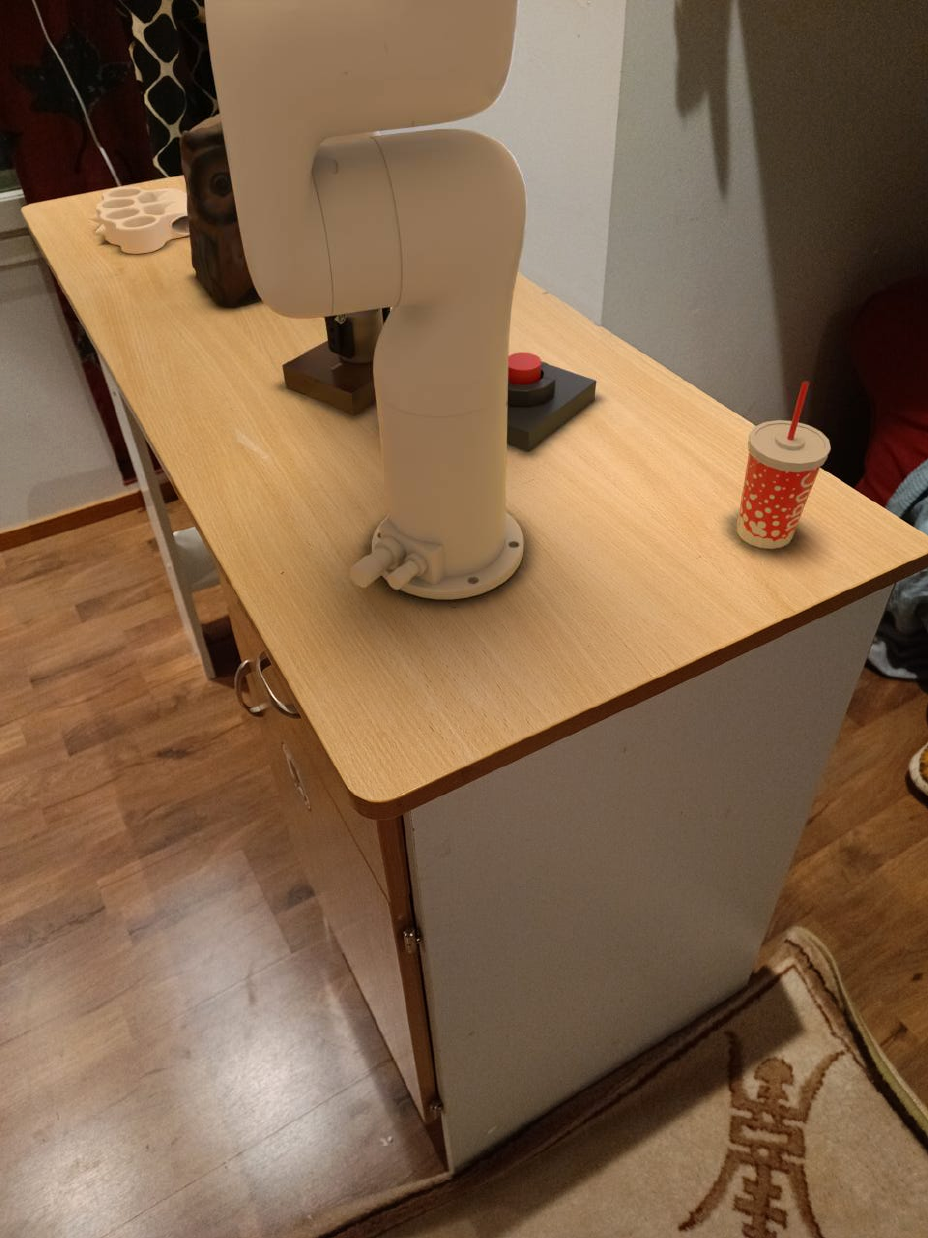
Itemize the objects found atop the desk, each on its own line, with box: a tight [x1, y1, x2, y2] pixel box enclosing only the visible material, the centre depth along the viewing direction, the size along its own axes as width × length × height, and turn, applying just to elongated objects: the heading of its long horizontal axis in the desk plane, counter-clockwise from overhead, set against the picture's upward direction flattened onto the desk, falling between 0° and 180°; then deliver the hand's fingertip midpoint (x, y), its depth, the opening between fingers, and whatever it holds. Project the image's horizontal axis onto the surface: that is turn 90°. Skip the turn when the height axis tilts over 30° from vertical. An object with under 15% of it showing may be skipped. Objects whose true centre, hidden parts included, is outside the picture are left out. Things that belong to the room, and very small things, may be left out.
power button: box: [508, 351, 542, 385], centre depth 86 cm, size 4×4×2 cm
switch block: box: [507, 360, 597, 453], centre depth 88 cm, size 12×10×4 cm
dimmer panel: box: [281, 340, 376, 416], centre depth 94 cm, size 14×10×3 cm
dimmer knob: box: [339, 308, 383, 363], centre depth 91 cm, size 5×5×5 cm
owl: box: [179, 112, 263, 309], centre depth 104 cm, size 13×13×20 cm
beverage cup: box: [736, 380, 832, 550], centre depth 69 cm, size 6×6×14 cm
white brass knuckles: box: [88, 186, 190, 255], centre depth 125 cm, size 3×18×15 cm
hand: (361, 341), depth 92 cm, fingers closed on dimmer knob, 5 cm apart
